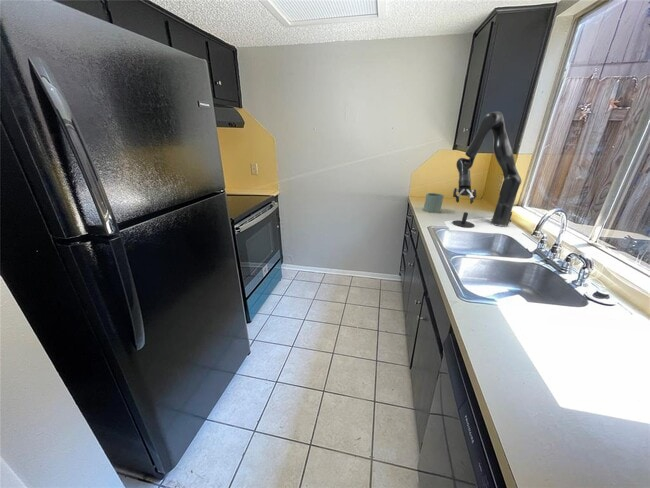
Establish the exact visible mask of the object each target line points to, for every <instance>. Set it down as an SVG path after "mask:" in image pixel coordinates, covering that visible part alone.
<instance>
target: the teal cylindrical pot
mask: <svg viewBox="0 0 650 488" xmlns="http://www.w3.org/2000/svg"><path fill="white" fill-rule="evenodd" d="M444 197H445V196H444V195H443V194H441V193H435V192H427V193H426V196H425V200H424V206H423V211H425V212H427V213H432V214H437V213H439V214H440V213H441V210H442V205H443V201H444Z"/></svg>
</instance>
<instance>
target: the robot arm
mask: <svg viewBox="0 0 650 488" xmlns="http://www.w3.org/2000/svg"><path fill="white" fill-rule="evenodd" d="M490 131H491V133H492V136H493V142H492V143H493V144H492V150H493V154H494V157H495V159H496V162H497V164H498V165H499V167H500V169H501V171H502V174H503V180H502V184H501V187H500V190H499V193H498V199H497V201H496V205H495V209H494V212H493V215H492V217H491V219H490V220H491V221H490V223H491V224H492V225H494V226H496V227H497V226H498V227H508V226H509V225H510V223H512V219H511V218H512V215H513V212H512V210H513V208H514V204H515V202H516V198H517V195H518V193H519V189H520V186H521V185H522V178H521V176H520V174H519V172H518V169H517V166H516V163H515V162H516V161H515V156H514V151H513V149H512V146H511V142H510V139H509V136H508V133H507V129H506V124H505V118H504V114H503V113H502V112H501V111H499V110H496V111H489V112H488V113H486V114H485V115H484V116H483V118H482V120H481V123H480V125H479V127H478V129H477V132H476V133H475V136H474V137H473V140H472V141H471V143H470V144H469V146H468V148H467V149H466V150H465V154H464V155H465V156H466V157H468V158H465V157H460V158H458V159H457V161H456V169H457V172H458V181H457V183H458V188H457V187H454V189H453V191H452V192H453V193H452V197H453V198H455V202H456V204H457V203H459V202H460V196H463V197H467V198H469V204H471V205H472V204H473V203H474V200H475V199H476V198H477V189H472V180H471V170H470V169H472V167H473V165H474V162H475V159H476V156H477V155H478V154H479V152H480V150H481V148H482V146H483V144H484V141H485V138H486V137H487V135H488V133H489V132H490ZM457 192H458V193H457Z"/></svg>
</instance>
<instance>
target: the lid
mask: <svg viewBox="0 0 650 488" xmlns="http://www.w3.org/2000/svg"><path fill="white" fill-rule="evenodd" d="M468 216H469V212H467V211H464V212H463V215H462V218H461V219H460V220H459V219H456V220H452V225H454V226H457V227H459V228H465V229H470V228H474V227H475V224H474V223H472V222H470V221H467V219H468Z"/></svg>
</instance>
